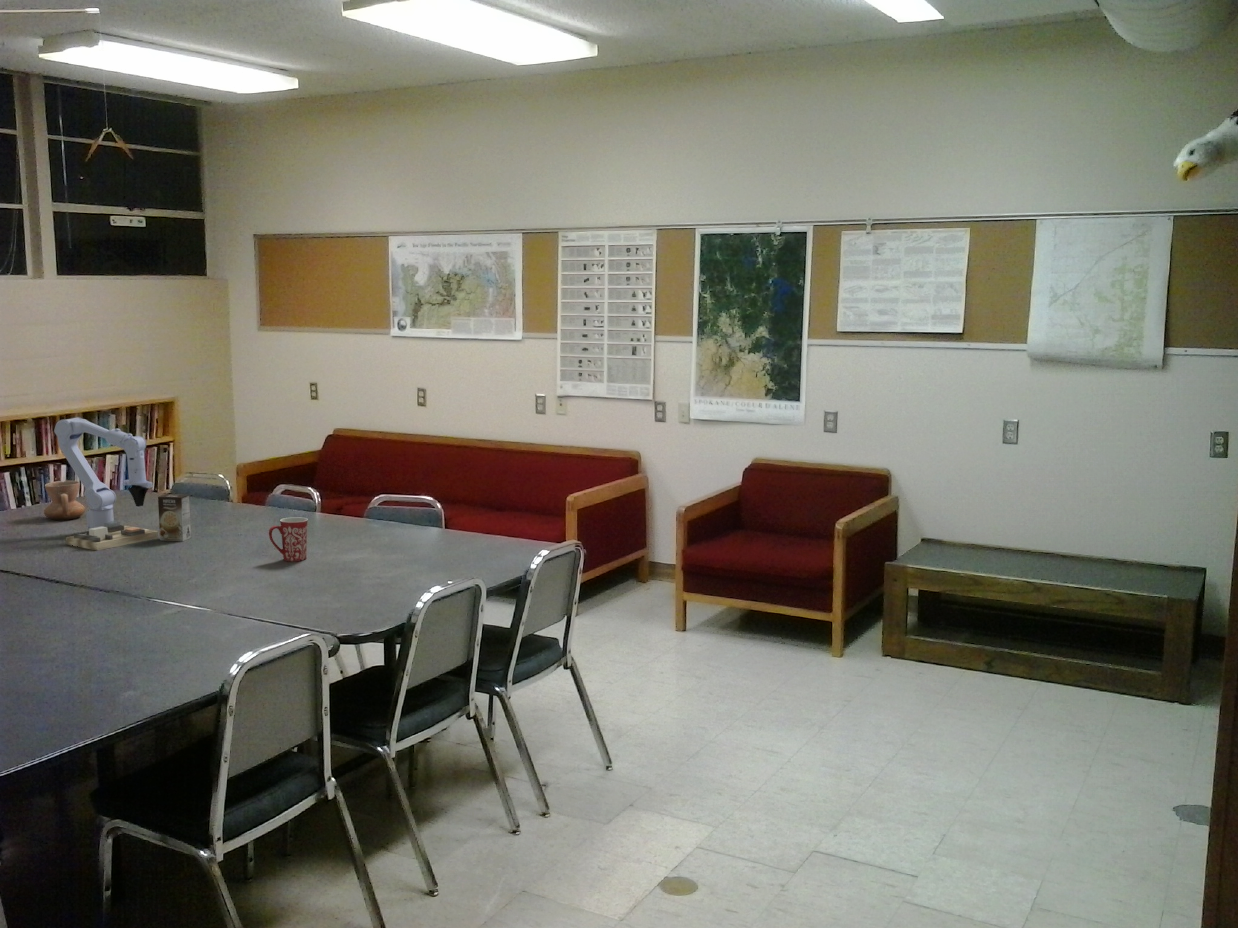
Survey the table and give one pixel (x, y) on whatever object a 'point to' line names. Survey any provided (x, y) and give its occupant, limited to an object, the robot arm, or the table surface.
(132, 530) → the terracotta button
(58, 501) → the ceramic jug
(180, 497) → the coffee box
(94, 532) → the slider knob
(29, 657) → the table surface
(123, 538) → the control panel
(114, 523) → the grey button
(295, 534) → the mug
